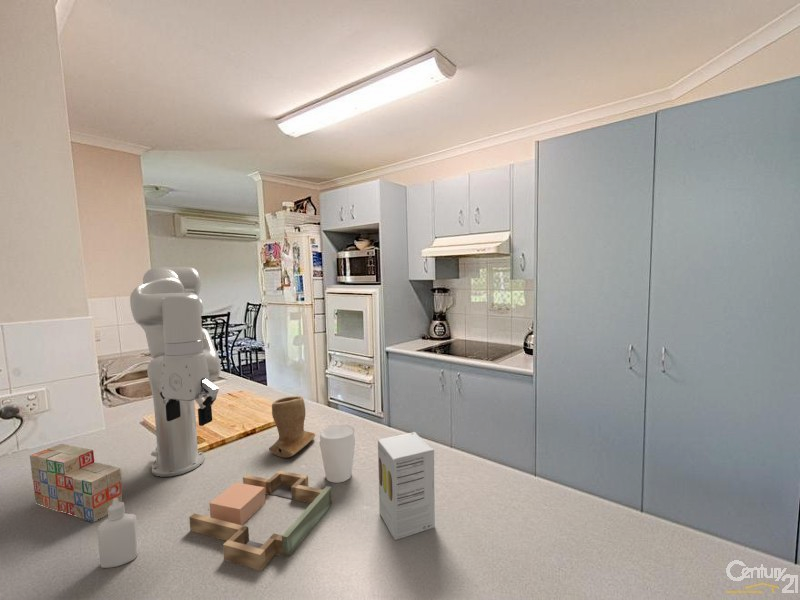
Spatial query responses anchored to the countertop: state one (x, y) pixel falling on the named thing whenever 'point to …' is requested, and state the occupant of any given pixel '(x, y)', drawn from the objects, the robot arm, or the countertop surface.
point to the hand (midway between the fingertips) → (189, 421)
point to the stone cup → (290, 426)
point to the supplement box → (406, 484)
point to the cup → (337, 451)
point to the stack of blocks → (74, 481)
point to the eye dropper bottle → (118, 537)
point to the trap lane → (260, 554)
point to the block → (237, 503)
